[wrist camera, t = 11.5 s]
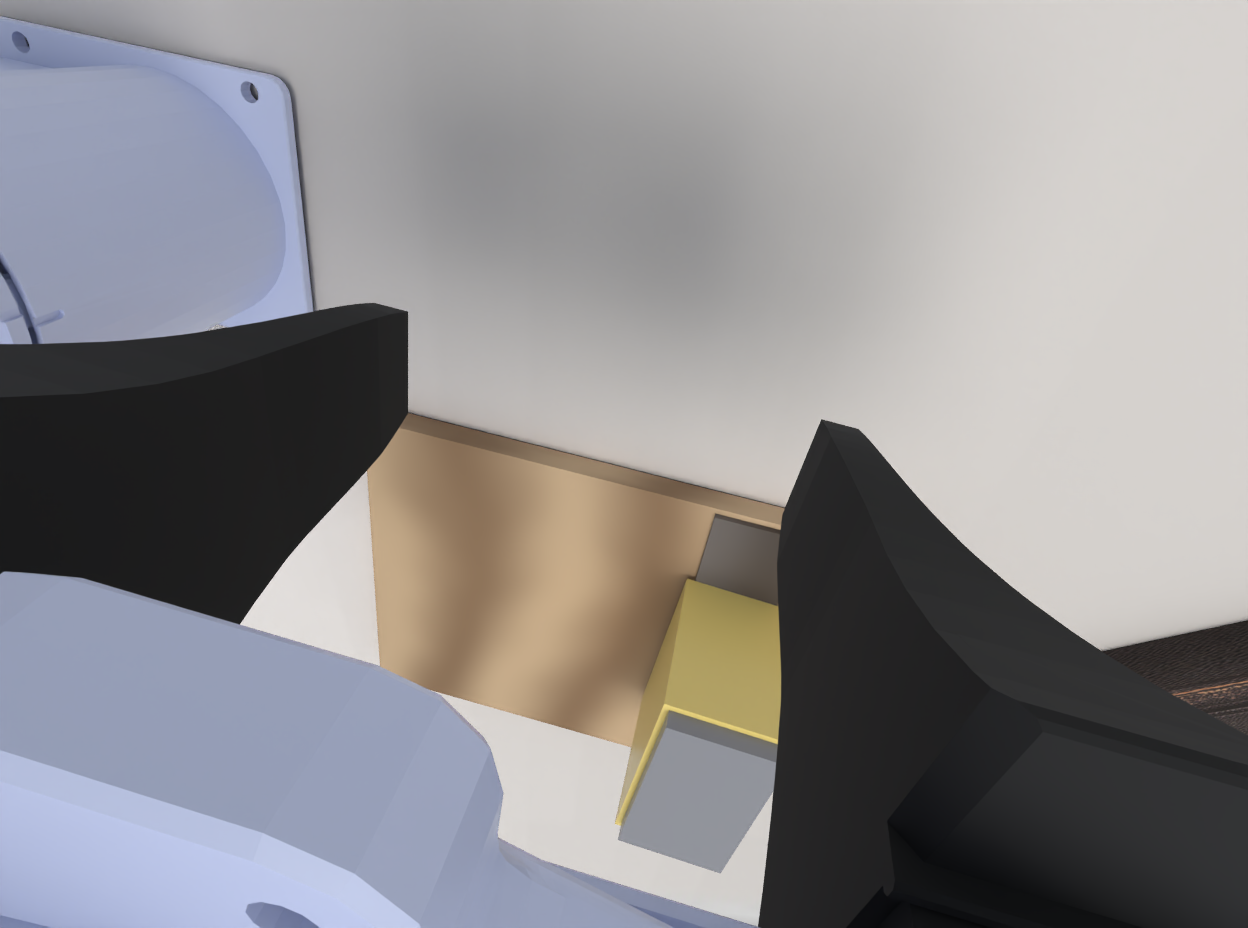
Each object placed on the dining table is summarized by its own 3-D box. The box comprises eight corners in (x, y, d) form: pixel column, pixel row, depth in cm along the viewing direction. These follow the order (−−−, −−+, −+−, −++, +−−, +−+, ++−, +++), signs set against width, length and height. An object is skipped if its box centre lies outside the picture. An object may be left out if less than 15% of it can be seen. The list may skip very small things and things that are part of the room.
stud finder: (642, 697, 28) (611, 840, 23) (686, 578, 24) (660, 721, 19) (735, 726, 28) (724, 877, 23) (796, 612, 24) (798, 764, 19)
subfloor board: (391, 659, 32) (378, 679, 31) (378, 405, 24) (360, 422, 23) (807, 776, 30) (808, 802, 29) (937, 547, 23) (945, 571, 22)
